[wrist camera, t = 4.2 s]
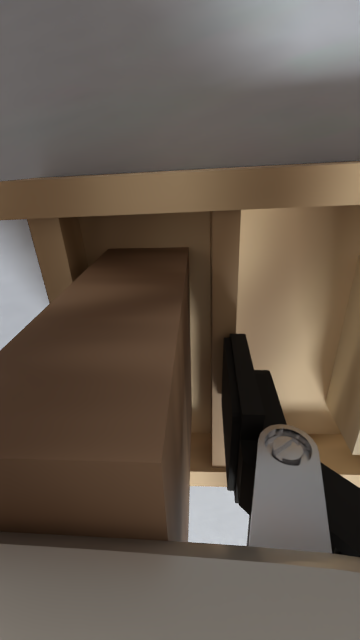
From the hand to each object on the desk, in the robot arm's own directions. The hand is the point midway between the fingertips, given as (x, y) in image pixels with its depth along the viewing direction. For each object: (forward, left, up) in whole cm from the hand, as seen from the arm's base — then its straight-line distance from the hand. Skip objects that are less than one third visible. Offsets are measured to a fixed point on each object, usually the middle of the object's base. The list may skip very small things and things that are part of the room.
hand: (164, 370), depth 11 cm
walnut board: (+1, 0, -2) cm, 2 cm away
